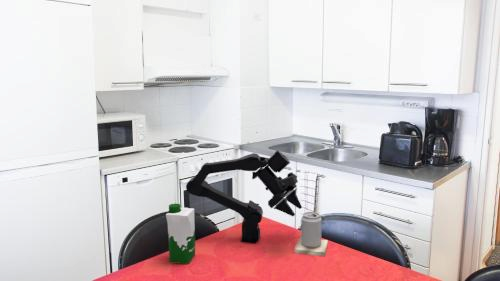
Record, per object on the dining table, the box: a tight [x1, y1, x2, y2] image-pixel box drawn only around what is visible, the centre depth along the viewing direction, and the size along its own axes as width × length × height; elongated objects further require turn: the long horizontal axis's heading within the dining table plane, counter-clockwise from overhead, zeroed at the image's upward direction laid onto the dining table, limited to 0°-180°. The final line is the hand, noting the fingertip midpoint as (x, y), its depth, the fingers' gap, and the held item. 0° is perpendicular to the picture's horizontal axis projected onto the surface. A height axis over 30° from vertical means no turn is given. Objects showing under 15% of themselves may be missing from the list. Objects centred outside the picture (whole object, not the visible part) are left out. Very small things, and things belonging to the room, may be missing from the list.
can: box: [300, 211, 323, 248], centre depth 150 cm, size 8×8×12 cm
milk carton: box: [165, 203, 196, 265], centre depth 142 cm, size 9×9×20 cm
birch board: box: [294, 236, 329, 257], centre depth 151 cm, size 11×11×2 cm
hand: (297, 211), depth 151 cm, fingers open, 9 cm apart
